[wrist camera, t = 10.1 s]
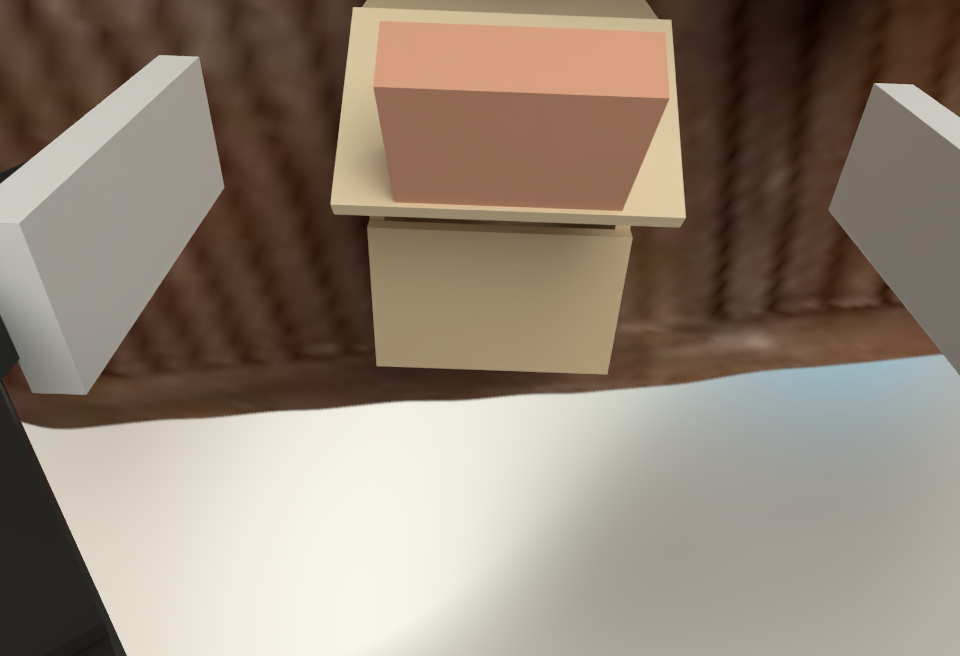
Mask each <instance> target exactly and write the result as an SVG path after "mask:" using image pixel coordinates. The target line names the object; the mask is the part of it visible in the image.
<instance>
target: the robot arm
mask: <svg viewBox="0 0 960 656" xmlns="http://www.w3.org/2000/svg"><path fill="white" fill-rule="evenodd" d="M223 189H224V183H223V178H222V173H221V168H220V163H219V158H218V153H217V147H216V142H215V137H214V132H213V127H212V122H211V117H210V111H209V106H208V101H207V96H206V91H205V86H204V81H203V76H202V70H201V65H200V60H199V57H189V56H164V55H159V56H158V57H156V58H155V59H154V60H153V61H151V62H150V63H149V64H148V65H146V66H145V67H144V68H143V69H142V70H140V71H139V72H138V73H137V74H135V75H134V76H133V77H132V78H130V79H129V80H128V81H127V82H125V83H124V84H123V85H122V86H121V87H119V88H118V89H117V90H116V91H114V92H113V93H112V94H111V95H109V96H108V97H107V98H106V99H104V100H103V101H102V102H101V103H100V104H98V105H97V106H96V107H95V108H93V109H92V110H91V111H90V112H88V113H87V114H86V115H85V116H83V117H82V118H81V119H80V120H79V121H77V122H76V123H75V124H74V125H72V126H71V127H70V128H69V129H67V130H66V131H65V132H64V133H63V134H61V135H60V136H59V137H58V138H56V139H55V140H54V141H53V142H51V143H50V144H49V145H48V146H46V147H45V148H44V149H43V150H42V151H40V152H39V153H38V154H37V155H35V156H34V157H33V158H32V159H30V160H29V161H27V162H25V163H22V164H20V165H18V166H16V167H13V168H11V169H9V170H6V171H4V172H2V173H0V656H127V655H126V653H125V651H124V649H123V646H122V644H121V642H120V640H119V638H118V635H117V633H116V631H115V629H114V626H113V624H112V622H111V620H110V618H109V615H108V613H107V611H106V609H105V607H104V604H103V602H102V600H101V598H100V595H99V593H98V591H97V589H96V587H95V585H94V582H93V580H92V578H91V576H90V574H89V571H88V569H87V567H86V565H85V562H84V560H83V558H82V556H81V553H80V551H79V549H78V547H77V545H76V542H75V540H74V538H73V536H72V534H71V532H70V529H69V527H68V525H67V523H66V520H65V518H64V516H63V514H62V512H61V509H60V507H59V505H58V503H57V500H56V498H55V496H54V494H53V492H52V489H51V487H50V485H49V483H48V481H47V478H46V476H45V474H44V472H43V470H42V467H41V465H40V463H39V461H38V458H37V456H36V454H35V452H34V450H33V448H32V445H31V443H30V441H29V438H28V436H27V434H26V432H25V430H24V427H23V425H22V423H21V421H20V419H19V416H18V414H17V412H16V410H15V407H14V405H13V403H12V401H11V399H10V397H9V394H8V392H7V390H6V388H5V386H4V384H3V382H2V379H3V378H4V377H5V375H6V374H7V373H8V372H9V371H10V369H11V368H12V367H13V366H14V365H15V363H16V362H17V361H18V362H19V364H20V367H21V369H22V371H23V373H24V375H25V378H26V380H27V382H28V384H29V386H30V389H31V391H32V393H49V394H78V395H87V393H88V392H89V390H90V389H91V387H92V386H93V384H94V383H95V381H96V380H97V378H98V377H99V375H100V374H101V372H102V371H103V369H104V368H105V366H106V365H107V363H108V362H109V360H110V359H111V357H112V356H113V354H114V353H115V351H116V350H117V348H118V347H119V345H120V344H121V342H122V341H123V339H124V338H125V336H126V335H127V333H128V332H129V330H130V329H131V327H132V326H133V324H134V323H135V321H136V320H137V318H138V317H139V315H140V314H141V312H142V311H143V309H144V308H145V306H146V305H147V303H148V302H149V300H150V299H151V297H152V296H153V294H154V293H155V291H156V290H157V288H158V287H159V285H160V284H161V282H162V281H163V279H164V278H165V276H166V275H167V273H168V272H169V270H170V269H171V267H172V266H173V264H174V263H175V261H176V260H177V258H178V256H179V255H180V253H181V252H182V250H183V249H184V247H185V246H186V244H187V243H188V241H189V240H190V238H191V237H192V235H193V234H194V232H195V231H196V229H197V228H198V226H199V225H200V223H201V222H202V220H203V219H204V217H205V216H206V214H207V213H208V211H209V210H210V208H211V207H212V205H213V204H214V202H215V201H216V199H217V198H218V196H219V195H220V193H221V192H222V190H223ZM829 211H830V213H831V214H832V215H833V216H834V218H835V219H836V220H837V221H838V223H839V224H840V225H841V227H842V228H843V229H844V230H845V232H846V233H847V234H848V235H849V237H850V238H851V239H852V240H853V242H854V243H855V244H856V245H857V247H858V248H859V249H860V250H861V252H862V253H863V254H864V255H865V257H866V258H867V259H868V260H869V262H870V263H871V264H872V265H873V267H874V268H875V269H876V271H877V272H878V273H879V274H880V276H881V277H882V278H883V279H884V281H885V282H886V283H887V284H888V286H889V287H890V288H891V289H892V291H893V292H894V293H895V294H896V296H897V297H898V298H899V299H900V301H901V302H902V303H903V304H904V306H905V307H906V308H907V310H908V311H909V312H910V313H911V315H912V316H913V317H914V318H915V320H916V321H917V322H918V323H919V325H920V326H921V327H922V328H923V330H924V331H925V332H926V333H927V335H928V336H929V337H930V338H931V340H932V341H933V342H934V343H935V345H936V346H937V347H938V348H939V350H940V351H941V352H942V354H943V355H944V356H945V357H946V358H947V360H948V361H949V362H950V363H951V365H952V366H953V367H954V369H955V370H956V371H957V372H958V374H959V375H960V117H958V116H957V115H955V114H954V113H952V112H951V111H950V110H948V109H947V108H945V107H944V106H943V105H941V104H940V103H938V102H937V101H936V100H934V99H933V98H931V97H930V96H928V95H927V94H926V93H924V92H923V91H921V90H920V89H919V88H917V87H916V86H914V85H908V84H882V83H874V85H873V88H872V91H871V93H870V96H869V99H868V102H867V104H866V107H865V110H864V113H863V116H862V118H861V121H860V124H859V127H858V129H857V132H856V135H855V138H854V140H853V143H852V146H851V149H850V152H849V154H848V157H847V160H846V163H845V165H844V168H843V171H842V174H841V176H840V179H839V182H838V185H837V187H836V190H835V193H834V196H833V199H832V201H831V204H830V207H829Z"/></svg>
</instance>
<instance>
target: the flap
mask: <svg viewBox="0 0 960 656" xmlns="http://www.w3.org/2000/svg"><path fill="white" fill-rule="evenodd" d="M330 205H331V207H332V210H333V213H334V214H337V215H364V216H390V217H417V218H443V219H469V220H496V221H522V222H549V223H575V224H601V225H628V226H654V227H681V225H682V223H683V222H684V220H685V218H686V215H685V201H684V188H683V174H682V160H681V146H680V132H679V118H678V104H677V91H676V77H675V63H674V49H673V35H672V21H671V20H661V19H636V18H611V17H586V16H561V15H536V14H511V13H486V12H461V11H436V10H412V9H387V8H362V7H353V13H352V22H351V30H350V39H349V48H348V56H347V65H346V74H345V82H344V91H343V100H342V109H341V117H340V126H339V135H338V143H337V152H336V161H335V169H334V178H333V187H332V195H331V204H330Z"/></svg>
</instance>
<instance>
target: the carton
mask: <svg viewBox="0 0 960 656" xmlns="http://www.w3.org/2000/svg"><path fill="white" fill-rule="evenodd" d="M362 8H387V9H412V10H436V11H461V12H486V13H511V14H536V15H561V16H586V17H611V18H636V19H658V18H657V16H656V15H655V13H654V12H653V11H652V9H651V8H650V6H649V5H648V3H647V2H646V1H645V0H366V2H365V4H364V5H363V7H362ZM369 218H370V220H369V223H368V227H367V232H368V247H369V261H370V276H371V291H372V306H373V320H374V335H375V350H376V365H377V366H389V367H417V368H444V369H472V370H500V371H527V372H555V373H583V374H608V368H609V363H610V357H611V352H612V346H613V341H614V336H615V330H616V325H617V319H618V314H619V309H620V303H621V298H622V292H623V287H624V281H625V276H626V271H627V265H628V260H629V254H630V249H631V243H632V238H633V237H632V234H631V231H630V227H631V226H628V225H601V224H575V223H549V222H522V221H496V220H469V219H443V218H417V217H390V216H369Z"/></svg>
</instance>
